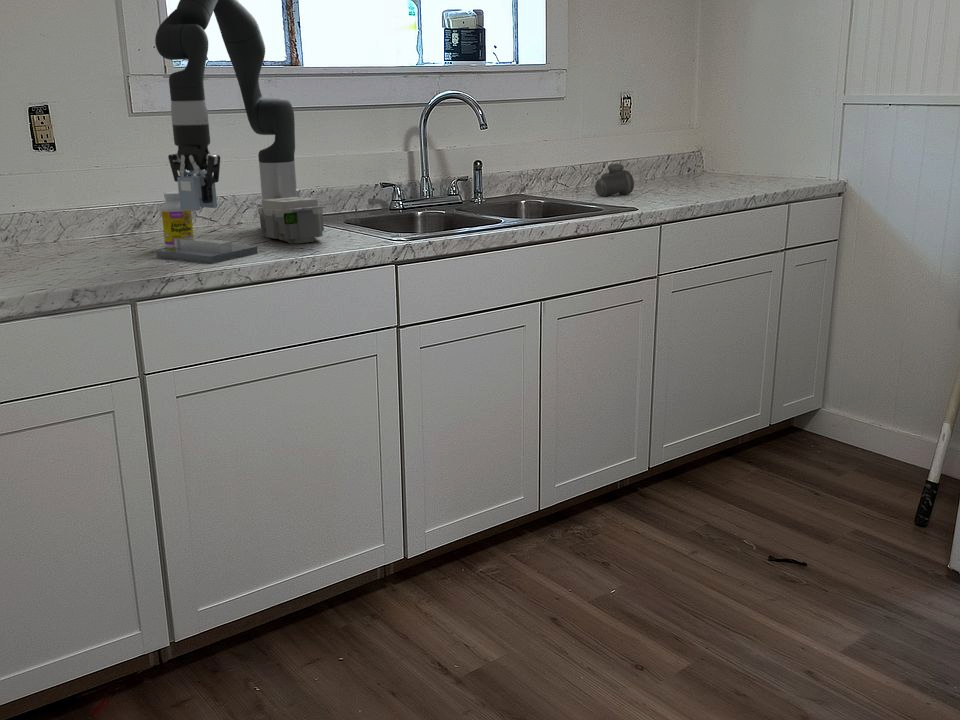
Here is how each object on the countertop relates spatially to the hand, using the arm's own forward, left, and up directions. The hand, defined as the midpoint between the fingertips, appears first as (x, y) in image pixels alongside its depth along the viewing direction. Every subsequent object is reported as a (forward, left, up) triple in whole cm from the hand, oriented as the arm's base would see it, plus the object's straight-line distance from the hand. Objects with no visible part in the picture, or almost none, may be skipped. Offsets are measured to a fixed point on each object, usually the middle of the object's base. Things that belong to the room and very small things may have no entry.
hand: (198, 201), depth 203 cm
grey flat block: (-1, 0, -12) cm, 12 cm away
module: (0, 0, -1) cm, 1 cm away
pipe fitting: (-141, +38, -12) cm, 147 cm away
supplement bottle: (-6, -15, -12) cm, 20 cm away
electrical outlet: (-28, +1, -12) cm, 30 cm away
